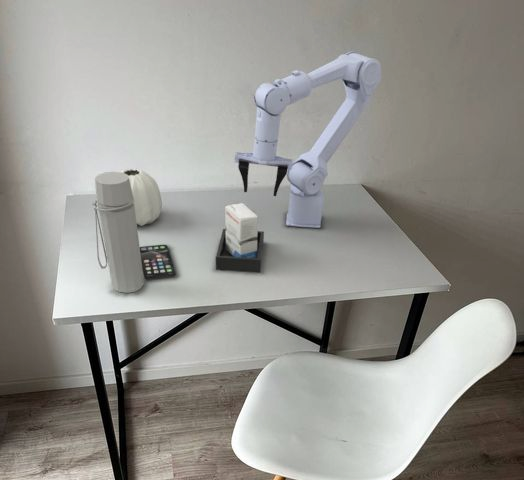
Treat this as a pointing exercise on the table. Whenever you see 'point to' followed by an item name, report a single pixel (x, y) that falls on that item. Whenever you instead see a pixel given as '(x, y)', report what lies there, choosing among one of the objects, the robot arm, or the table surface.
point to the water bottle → (119, 231)
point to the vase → (144, 196)
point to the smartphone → (156, 262)
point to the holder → (239, 263)
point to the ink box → (241, 231)
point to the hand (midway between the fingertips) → (260, 192)
